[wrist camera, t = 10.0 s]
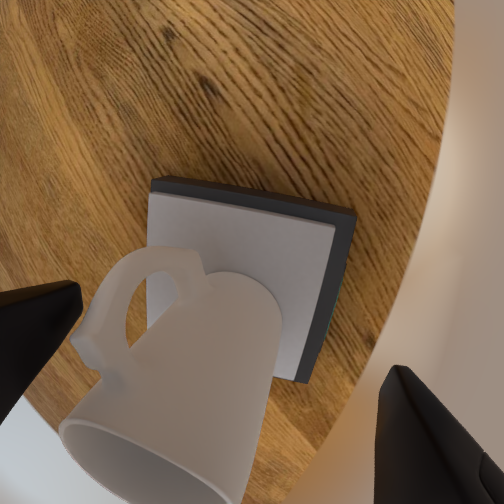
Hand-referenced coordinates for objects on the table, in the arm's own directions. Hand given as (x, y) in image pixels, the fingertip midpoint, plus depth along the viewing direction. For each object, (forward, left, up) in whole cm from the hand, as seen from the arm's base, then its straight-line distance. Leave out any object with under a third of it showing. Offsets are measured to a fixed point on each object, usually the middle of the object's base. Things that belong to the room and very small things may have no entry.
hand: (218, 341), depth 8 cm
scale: (+2, +4, -13) cm, 13 cm away
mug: (+2, +4, -10) cm, 11 cm away
